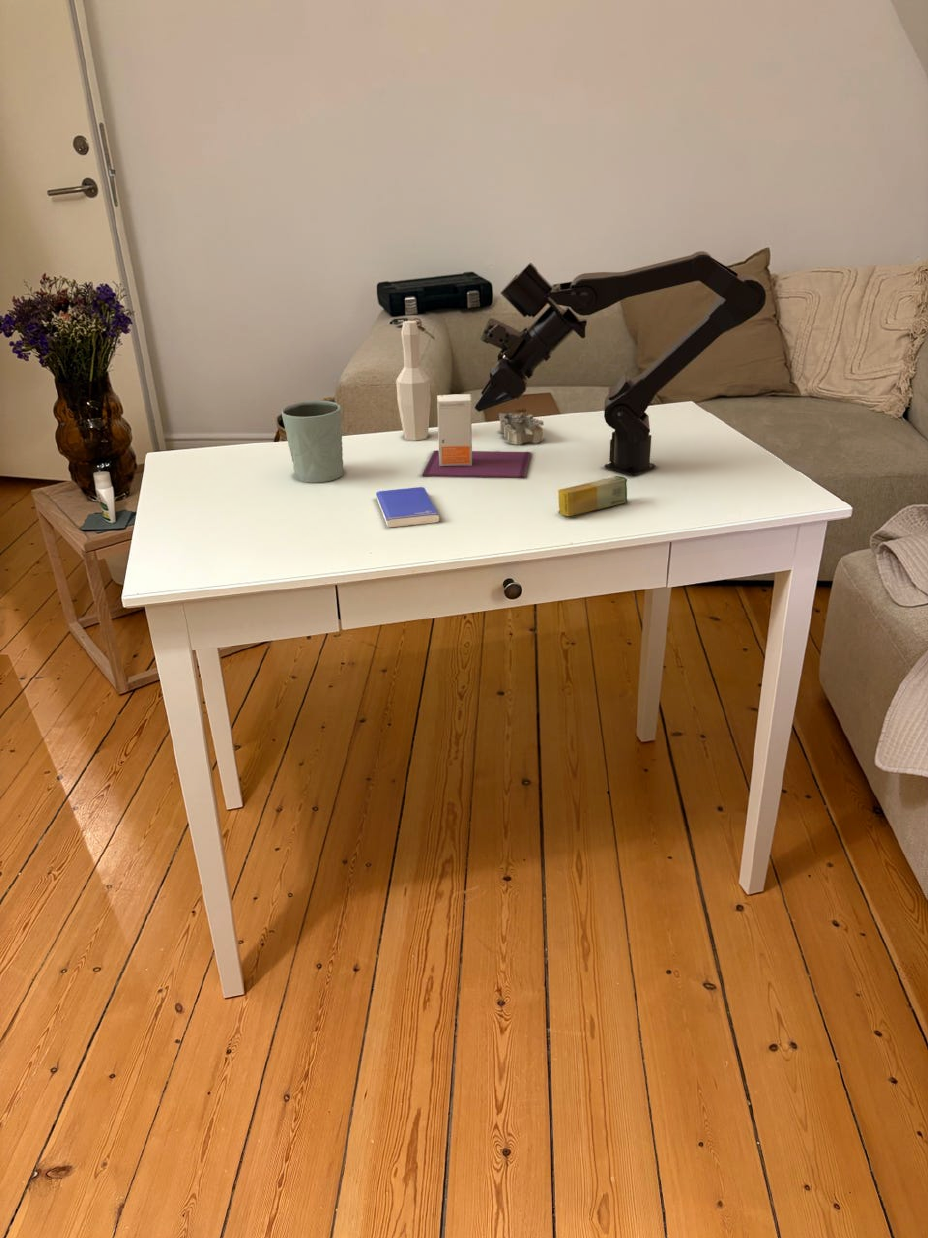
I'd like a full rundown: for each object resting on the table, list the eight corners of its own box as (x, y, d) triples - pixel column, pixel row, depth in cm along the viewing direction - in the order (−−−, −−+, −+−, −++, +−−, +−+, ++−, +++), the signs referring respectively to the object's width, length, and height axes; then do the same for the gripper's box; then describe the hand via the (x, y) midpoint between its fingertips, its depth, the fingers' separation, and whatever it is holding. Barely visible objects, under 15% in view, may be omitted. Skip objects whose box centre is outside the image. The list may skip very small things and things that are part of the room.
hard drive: (438, 512, 151) (424, 486, 161) (386, 518, 149) (375, 491, 160) (439, 522, 151) (424, 494, 162) (387, 527, 150) (376, 500, 161)
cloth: (530, 453, 179) (530, 451, 179) (524, 478, 168) (524, 475, 168) (434, 452, 182) (434, 450, 181) (422, 476, 170) (422, 473, 170)
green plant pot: (352, 479, 170) (346, 412, 164) (295, 487, 167) (287, 419, 161) (339, 462, 178) (333, 397, 173) (284, 469, 175) (276, 404, 170)
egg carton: (545, 443, 184) (545, 422, 182) (506, 446, 184) (506, 425, 182) (535, 427, 194) (535, 406, 192) (497, 429, 193) (497, 409, 191)
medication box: (617, 499, 158) (617, 475, 156) (628, 502, 156) (628, 478, 154) (557, 513, 153) (557, 488, 151) (568, 517, 150) (567, 492, 149)
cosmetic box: (439, 467, 173) (436, 401, 167) (439, 459, 177) (436, 394, 171) (473, 466, 173) (471, 399, 167) (472, 458, 177) (470, 393, 171)
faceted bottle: (431, 441, 188) (426, 324, 177) (398, 442, 188) (391, 325, 177) (432, 431, 193) (427, 317, 183) (401, 432, 193) (393, 318, 183)
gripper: (514, 292, 168) (453, 356, 175) (503, 313, 152) (437, 383, 159) (559, 338, 171) (498, 399, 178) (553, 363, 155) (486, 430, 161)
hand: (479, 402), depth 169 cm, fingers open, 9 cm apart
